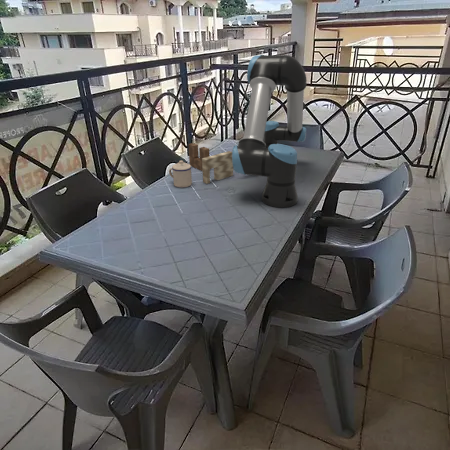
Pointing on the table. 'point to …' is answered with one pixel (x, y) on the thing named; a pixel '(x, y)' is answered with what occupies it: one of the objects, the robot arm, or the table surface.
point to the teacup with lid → (181, 174)
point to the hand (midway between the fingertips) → (227, 163)
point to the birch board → (217, 166)
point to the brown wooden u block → (194, 156)
